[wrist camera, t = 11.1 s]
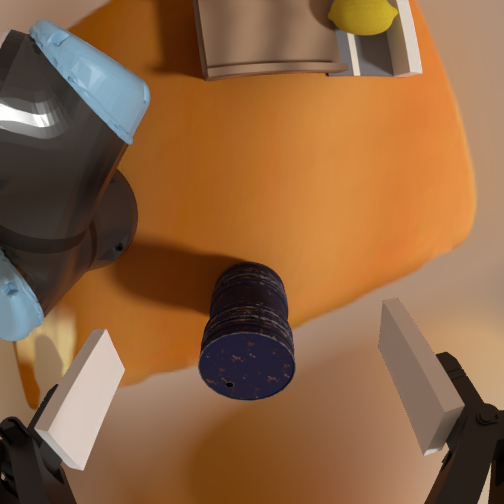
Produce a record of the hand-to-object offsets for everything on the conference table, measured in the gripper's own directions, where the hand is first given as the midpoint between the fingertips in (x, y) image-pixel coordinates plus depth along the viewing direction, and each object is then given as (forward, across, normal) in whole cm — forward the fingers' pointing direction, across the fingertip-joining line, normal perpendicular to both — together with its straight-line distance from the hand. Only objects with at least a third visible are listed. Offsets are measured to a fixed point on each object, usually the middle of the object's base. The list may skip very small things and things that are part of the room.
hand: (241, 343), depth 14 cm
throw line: (+27, +14, +20) cm, 36 cm away
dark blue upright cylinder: (+27, -2, -13) cm, 30 cm away
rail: (+27, +20, +20) cm, 39 cm away
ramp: (+27, +5, +20) cm, 34 cm away
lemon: (+21, +19, +21) cm, 35 cm away
